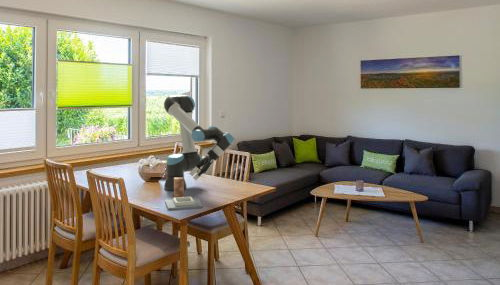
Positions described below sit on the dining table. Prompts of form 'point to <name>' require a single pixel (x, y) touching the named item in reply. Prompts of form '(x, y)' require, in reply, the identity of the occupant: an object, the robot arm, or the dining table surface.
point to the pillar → (178, 187)
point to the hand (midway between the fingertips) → (192, 177)
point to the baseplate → (183, 203)
